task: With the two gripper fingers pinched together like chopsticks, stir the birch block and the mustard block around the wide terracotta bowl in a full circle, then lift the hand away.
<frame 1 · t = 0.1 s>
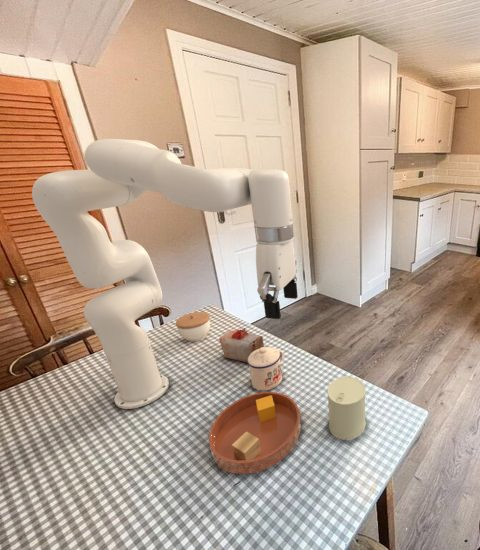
hand: (282, 307, 68), 31 cm above the table, tool pointing down, fingers open, 9 cm apart
bowl: (258, 435, 73), on the table
food item: (244, 356, 102), on the table
teacup with lid: (270, 378, 92), on the table
birch block: (247, 454, 68), point 1 cm above the table, touching bowl
can: (347, 426, 76), on the table
mustard block: (266, 414, 78), point 1 cm above the table, touching bowl
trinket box: (197, 337, 112), on the table
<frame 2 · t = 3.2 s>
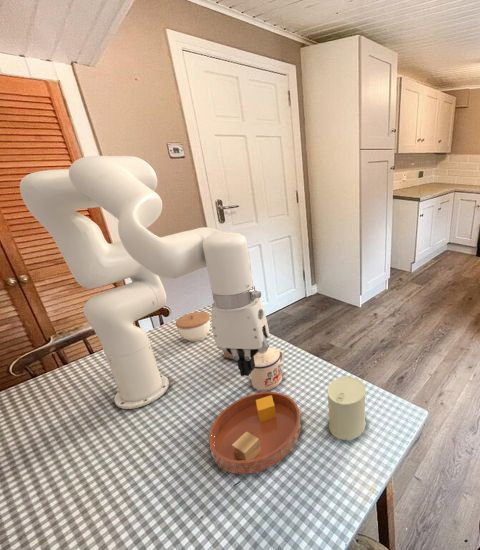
hand: (247, 371, 66), 19 cm above the table, tool pointing down, fingers closed
nothing on the table moved.
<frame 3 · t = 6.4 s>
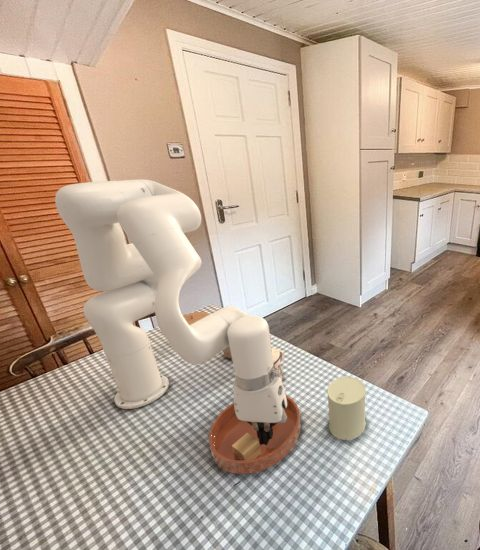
hand: (266, 439, 69), 3 cm above the table, tool pointing down, fingers closed
nothing on the table moved.
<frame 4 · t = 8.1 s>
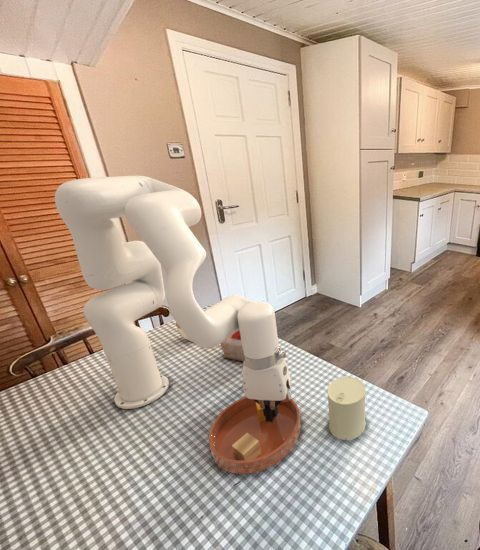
hand: (271, 417, 75), 3 cm above the table, tool pointing down, fingers closed
mustard block: (266, 413, 78), point 1 cm above the table, touching bowl, gripper
everything else where it was.
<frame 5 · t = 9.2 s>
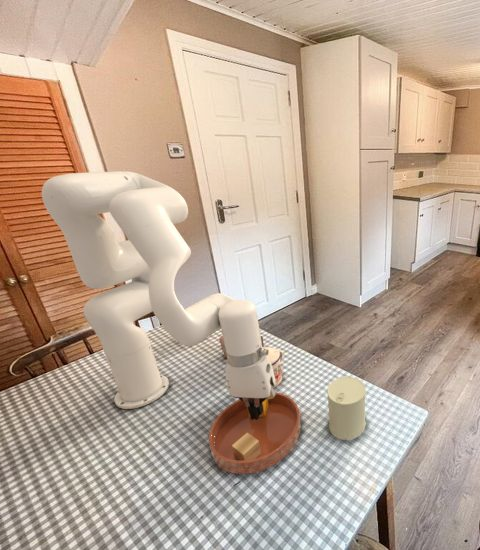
hand: (256, 415, 75), 3 cm above the table, tool pointing down, fingers closed
mustard block: (259, 411, 79), point 1 cm above the table, touching bowl, gripper
everything else where it was.
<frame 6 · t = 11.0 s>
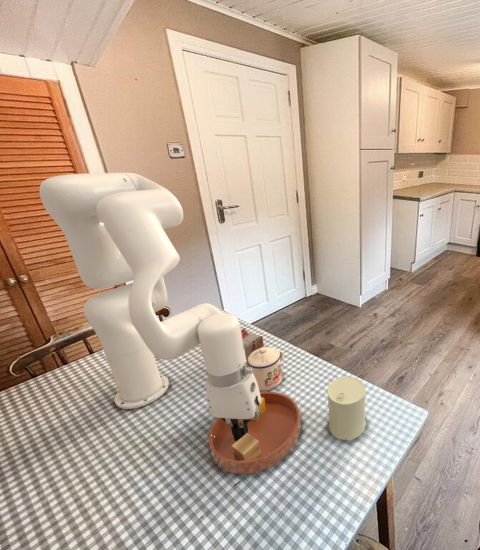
hand: (241, 435, 70), 3 cm above the table, tool pointing down, fingers closed
birch block: (247, 456, 67), point 1 cm above the table, touching gripper
mustard block: (254, 413, 79), point 1 cm above the table, touching bowl
everything else where it was.
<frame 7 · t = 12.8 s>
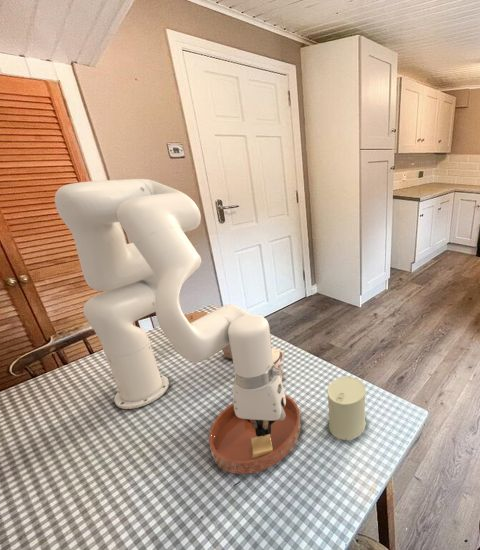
hand: (264, 436, 69), 3 cm above the table, tool pointing down, fingers closed
birch block: (260, 456, 67), point 1 cm above the table, tilted 11°, touching bowl, gripper
everything else where it was.
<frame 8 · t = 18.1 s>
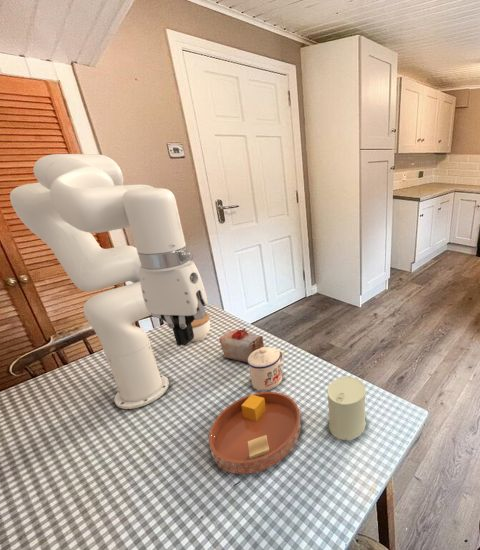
hand: (185, 341, 63), 27 cm above the table, tool pointing down, fingers closed
birch block: (260, 458, 67), point 1 cm above the table, touching bowl
everything else where it was.
at the end: birch block moved 3.2 cm from its start; birch block inside the target area in the bowl (7.0 cm from its centre), point 0.6 cm above the bowl's base; mustard block inside the target area in the bowl (6.6 cm from its centre), point 0.6 cm above the bowl's base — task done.
